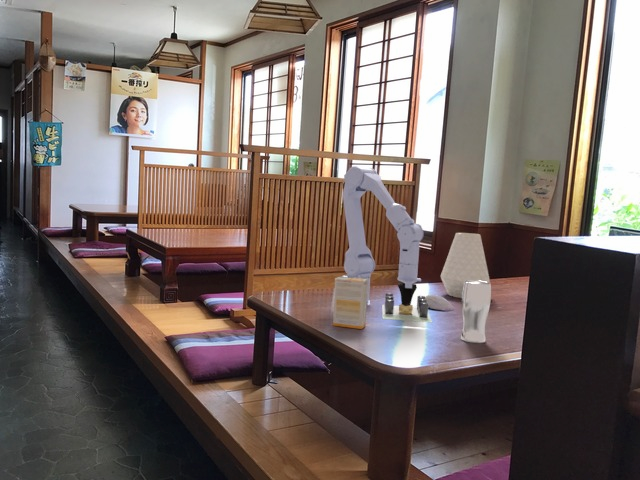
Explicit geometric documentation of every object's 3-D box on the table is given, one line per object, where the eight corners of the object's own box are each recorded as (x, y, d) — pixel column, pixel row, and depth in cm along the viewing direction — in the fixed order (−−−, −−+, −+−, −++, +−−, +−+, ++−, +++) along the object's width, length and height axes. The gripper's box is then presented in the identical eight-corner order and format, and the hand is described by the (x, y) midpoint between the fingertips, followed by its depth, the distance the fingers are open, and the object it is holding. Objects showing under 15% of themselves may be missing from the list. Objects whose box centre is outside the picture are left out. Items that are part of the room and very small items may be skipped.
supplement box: (366, 326, 150) (369, 278, 149) (361, 329, 146) (364, 280, 144) (337, 322, 153) (339, 275, 152) (331, 325, 148) (334, 277, 147)
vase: (493, 296, 206) (498, 235, 204) (480, 302, 192) (485, 237, 190) (448, 289, 216) (452, 231, 214) (432, 295, 201) (436, 232, 199)
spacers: (385, 314, 162) (386, 301, 162) (384, 305, 176) (385, 292, 176) (427, 317, 161) (428, 304, 161) (423, 307, 175) (424, 295, 175)
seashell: (421, 294, 183) (452, 291, 181) (422, 310, 183) (453, 308, 181) (420, 297, 173) (453, 295, 171) (422, 314, 173) (454, 312, 171)
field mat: (382, 320, 157) (382, 318, 157) (382, 306, 177) (382, 304, 177) (432, 324, 156) (432, 322, 156) (426, 309, 175) (426, 307, 175)
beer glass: (455, 336, 144) (459, 279, 143) (481, 336, 145) (485, 280, 143) (464, 343, 137) (469, 284, 136) (491, 344, 138) (496, 285, 136)
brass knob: (398, 314, 164) (399, 305, 164) (398, 311, 168) (399, 303, 167) (412, 315, 163) (412, 306, 163) (411, 312, 167) (412, 304, 167)
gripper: (423, 267, 160) (420, 313, 161) (420, 261, 174) (417, 303, 175) (399, 266, 160) (396, 312, 161) (397, 260, 175) (394, 302, 176)
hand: (405, 307), depth 168 cm, fingers closed
